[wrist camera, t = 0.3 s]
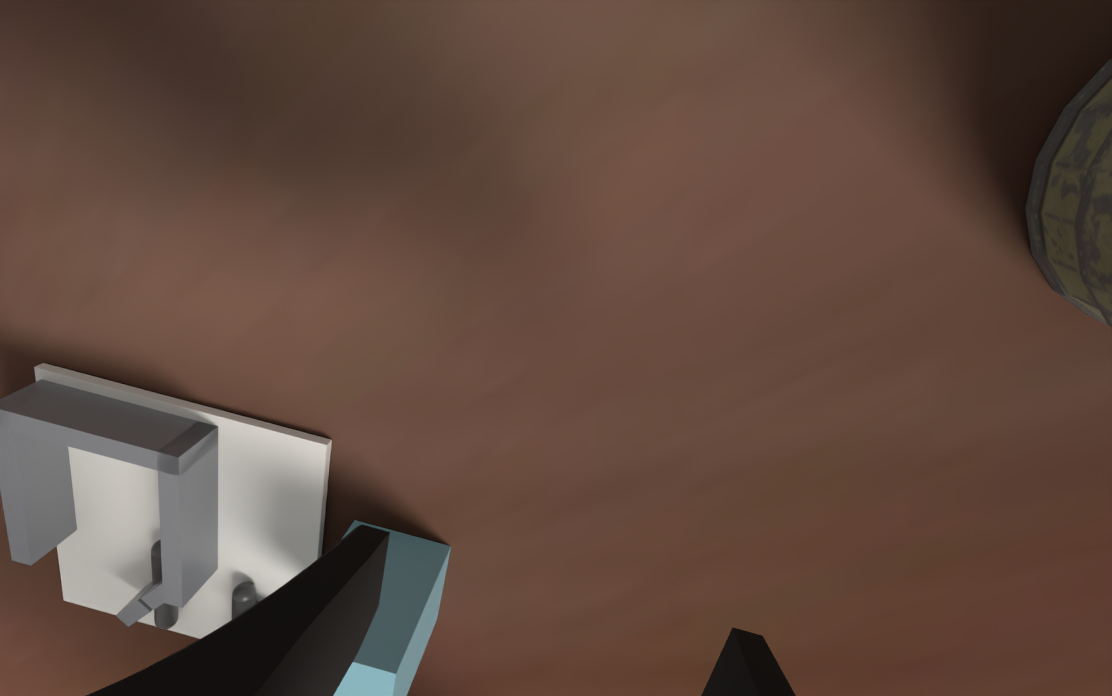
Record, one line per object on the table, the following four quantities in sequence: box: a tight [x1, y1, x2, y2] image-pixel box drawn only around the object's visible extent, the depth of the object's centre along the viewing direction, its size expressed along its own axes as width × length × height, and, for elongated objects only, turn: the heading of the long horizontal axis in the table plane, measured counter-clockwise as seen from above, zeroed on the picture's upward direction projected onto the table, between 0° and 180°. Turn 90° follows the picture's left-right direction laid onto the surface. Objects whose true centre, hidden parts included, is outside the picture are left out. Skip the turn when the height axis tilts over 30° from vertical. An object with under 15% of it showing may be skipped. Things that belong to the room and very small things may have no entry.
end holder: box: [0, 379, 218, 608], centre depth 25 cm, size 7×7×3 cm
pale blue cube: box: [333, 520, 451, 696], centre depth 23 cm, size 5×4×6 cm
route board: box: [34, 363, 332, 639], centre depth 26 cm, size 12×12×2 cm
